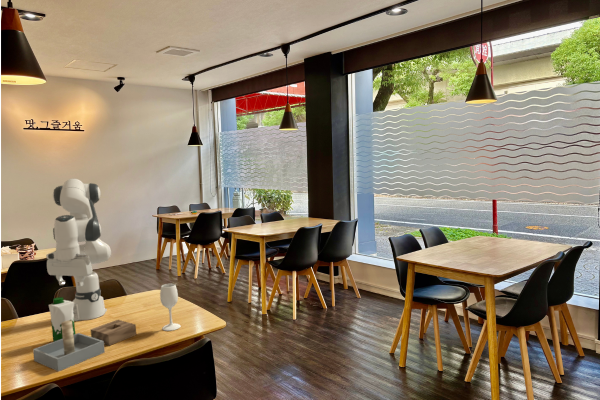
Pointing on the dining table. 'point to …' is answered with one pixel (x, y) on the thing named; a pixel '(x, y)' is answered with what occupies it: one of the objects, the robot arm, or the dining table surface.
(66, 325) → the dowel
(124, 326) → the socket block
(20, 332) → the dining table surface
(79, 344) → the tray
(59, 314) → the milk carton
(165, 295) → the wineglass
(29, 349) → the dining table surface
